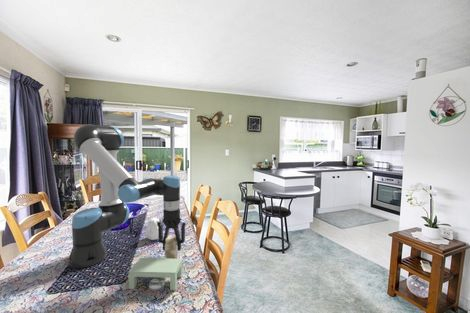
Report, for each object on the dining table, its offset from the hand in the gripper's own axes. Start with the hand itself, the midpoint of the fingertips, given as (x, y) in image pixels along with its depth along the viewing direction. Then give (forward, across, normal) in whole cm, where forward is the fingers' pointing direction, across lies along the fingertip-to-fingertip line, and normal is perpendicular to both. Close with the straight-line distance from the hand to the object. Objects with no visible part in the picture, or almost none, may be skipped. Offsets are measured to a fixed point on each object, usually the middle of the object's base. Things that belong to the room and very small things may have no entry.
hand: (172, 256), depth 105 cm
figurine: (+2, -18, +23) cm, 29 cm away
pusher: (+2, 0, -7) cm, 7 cm away
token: (+2, 0, -19) cm, 19 cm away
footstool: (+2, -1, -16) cm, 16 cm away
